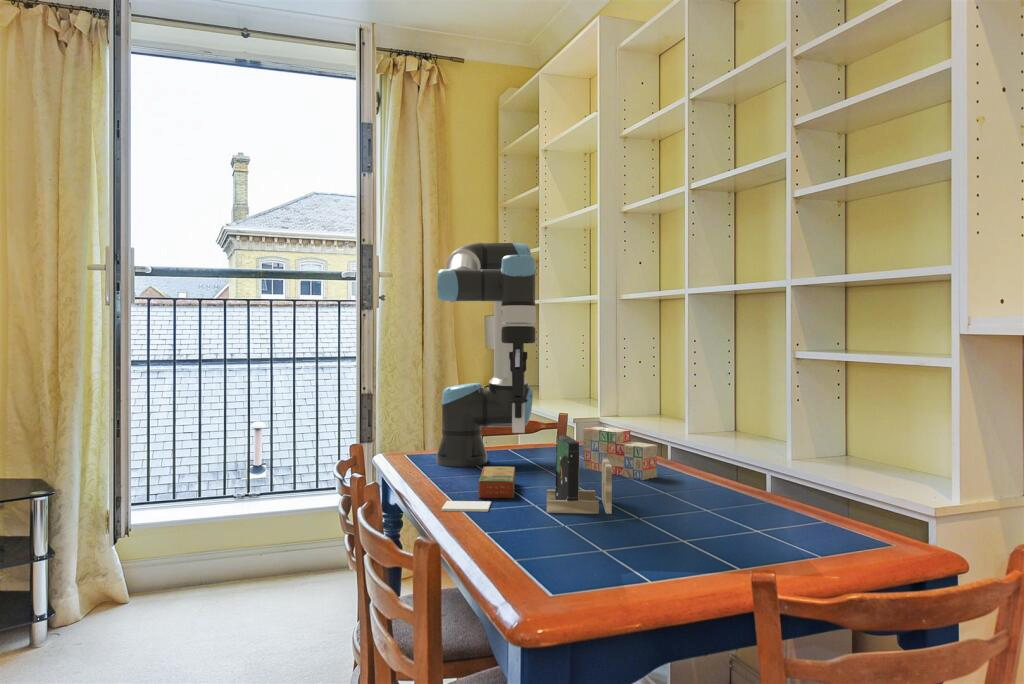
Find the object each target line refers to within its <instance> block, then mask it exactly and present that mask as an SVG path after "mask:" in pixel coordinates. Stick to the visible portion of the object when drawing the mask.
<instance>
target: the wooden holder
mask: <svg viewBox="0 0 1024 684" xmlns="http://www.w3.org/2000/svg"><path fill="white" fill-rule="evenodd" d="M612 475H613V474H612V466H611V464H610V462H609V460H608V458H607V457H602V472H601V501H602V505H603V509H604V512H605V514H606V515H607V514H609V515H610V514H611V515H612V514H613V513H612V511H613V510H612V509H613V506H612V503H613V500H612V499H613V495H612V492H613V489H612V487H613V483H612V481H613V480H612V479H613V478H612V477H613V476H612ZM555 494H556V489H546V513H547V514H599V513H600V509H599V508H600V504H599V503H600V502H599V500H596V499H597V496H596V495H597V492H596V490H594V489H579V500H578V501H567V500H556V495H555Z"/></svg>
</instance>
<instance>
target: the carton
mask: <svg viewBox="0 0 1024 684" xmlns="http://www.w3.org/2000/svg"><path fill="white" fill-rule="evenodd" d="M515 484H516V467H515V466H483V467H482V470H481V473H480V477H479V479H478V492H477V495H478V497H477V498H478V499H514V498H515V487H516V486H515Z"/></svg>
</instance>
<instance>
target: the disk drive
mask: <svg viewBox="0 0 1024 684" xmlns="http://www.w3.org/2000/svg"><path fill="white" fill-rule="evenodd" d="M555 446H556V449H555V450H556V451H555V453H556V454H555V455H556V457H555V490H556V494H555V495H556V500H567V501H578V500H579V490H580V466H581V465H580V464H581V463H580V461H581V459H580V458H581V451H580V442H579V441H578V440H576V439H574V438H572V437H570V436H569V435H566V434H561V435H560V434H559V435H556V445H555Z"/></svg>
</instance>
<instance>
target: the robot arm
mask: <svg viewBox="0 0 1024 684" xmlns="http://www.w3.org/2000/svg"><path fill="white" fill-rule="evenodd" d="M536 274H537V269H536V260H535V258H534V257H533V256H532V252H531V249H530V247H529V246H528V245H527V244H525V243H516V242H475V243H470V244H466V245H463V246H461V247H459V248H456V249H455V250H454V251H452V253H449V256H448V258H447V259H446V264H445V269H444V268H443V269H439V270H438V271H437V274H436V275H437V276H436V279H437V280H436V290H437V291H436V295H437V298H438V299H439V301H441V302H451V303H454V302H493V308H494V309H493V315H494V317H493V377H491V378H490V379H489V381H488V387H483V385H482V384H481V382H472V383H463V384H456V385H452V386H447V387H445V388H444V389H443V390H442V395H441V396H442V397H441V398H442V399H441V405H442V406H441V408H442V409H441V411H442V413H441V414H442V415H441V416H442V417H441V421H442V422H441V439H440V443H439V445H438V450H437V452H436V456H435V461H436V462H435V463H436V464H437V465H440V466H443V467H454V468H456V467H457V468H466V467H467V468H468V467H477V466H482V465H486V464H487V463H488V454H487V450H486V446H485V444H484V440H483V437H482V428H509V427H510V428H511V432H512V434H525V429H526V428H525V427H526V426H527V425H528V423H529V421H530V418H531V413H532V409H533V408H532V407H533V396H534V390H533V388H532V387H530V386H528V385H529V381H528V380H527V379H526V378H525V372H526V371H527V360H528V351H525V344H534V343H535V342H536V327H535V326H534V325H535V324H536V322H537V321H536V320H537V319H536V318H537V317H536V316H537V315H536V313H537V312H536V307H537V306H536Z"/></svg>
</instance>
